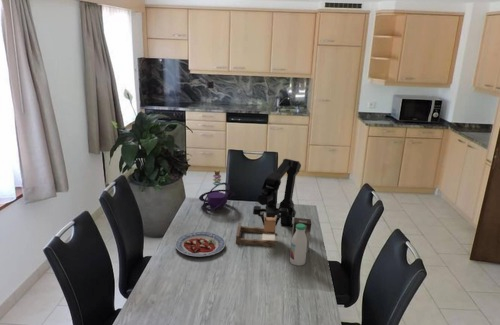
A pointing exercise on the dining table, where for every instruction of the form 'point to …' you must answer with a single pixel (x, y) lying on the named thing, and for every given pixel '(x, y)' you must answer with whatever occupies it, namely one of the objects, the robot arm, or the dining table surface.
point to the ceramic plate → (200, 244)
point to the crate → (269, 224)
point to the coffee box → (307, 230)
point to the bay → (266, 239)
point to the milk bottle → (298, 246)
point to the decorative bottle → (216, 194)
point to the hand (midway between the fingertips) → (269, 225)
